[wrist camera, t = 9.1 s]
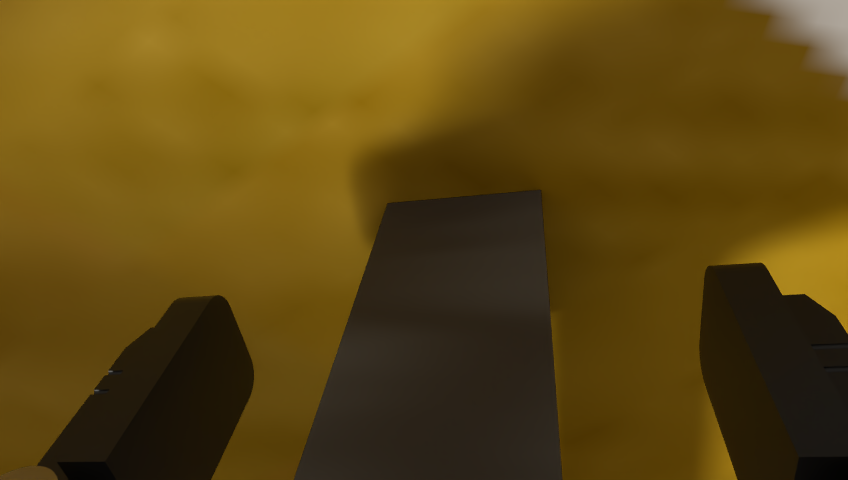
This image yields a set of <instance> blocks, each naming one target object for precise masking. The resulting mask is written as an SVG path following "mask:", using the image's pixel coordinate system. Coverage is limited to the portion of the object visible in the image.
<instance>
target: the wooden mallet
mask: <svg viewBox="0 0 848 480" xmlns="http://www.w3.org/2000/svg"><path fill="white" fill-rule="evenodd" d="M294 480H562V466H561V452H560V439H559V425H558V411H557V398H556V384H555V371H554V357H553V343H552V330H551V316H550V303H549V290H548V277H547V264H546V251H545V238H544V225H543V212H542V199H541V190H534V191H523V192H512V193H500V194H489V195H477V196H466V197H454V198H443V199H432V200H420V201H409V202H397V203H388V204H387V207H386V210H385V213H384V216H383V218H382V221H381V224H380V227H379V230H378V233H377V236H376V239H375V242H374V245H373V248H372V251H371V254H370V257H369V260H368V263H367V266H366V269H365V272H364V274H363V277H362V280H361V283H360V286H359V289H358V292H357V295H356V298H355V301H354V304H353V307H352V310H351V313H350V316H349V319H348V322H347V325H346V328H345V331H344V333H343V336H342V339H341V342H340V345H339V348H338V351H337V354H336V357H335V360H334V363H333V366H332V369H331V372H330V375H329V378H328V381H327V384H326V387H325V389H324V392H323V395H322V398H321V401H320V404H319V407H318V410H317V413H316V416H315V419H314V422H313V425H312V428H311V431H310V434H309V437H308V440H307V443H306V445H305V448H304V451H303V454H302V457H301V460H300V463H299V466H298V469H297V472H296V475H295V478H294Z"/></svg>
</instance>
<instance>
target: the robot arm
mask: <svg viewBox="0 0 848 480" xmlns="http://www.w3.org/2000/svg"><path fill="white" fill-rule="evenodd" d="M699 350H700V363H701V369H702V375H703V379H704V383H705V386H706V389H707V392H708V395H709V397H710V400H711V403H712V406H713V409H714V412H715V415H716V418H717V421H718V424H719V427H720V430H721V433H722V435H723V438H724V441H725V444H726V447H727V450H728V453H729V456H730V459H731V462H732V465H733V468H734V470H735V473H736V476H737V479H738V480H848V334H847V333H846V331H845V330H844V328H843V326H842V325H841V323H840V322H839V320H838V319H837V317H836V316H835V315H833V314H832V313H831V312H829V311H828V310H826V309H825V308H824V307H822V306H821V305H819V304H818V303H817V302H815V301H814V300H812V299H811V298H810V297H808V296H807V295H805V294H799V295H782V294H781V292H780V290H779V289H778V287H777V285H776V283H775V282H774V280H773V278H772V277H771V275H770V273H769V271H768V270H767V268H766V267H765V265H764V264H762V263H749V264H733V265H717V266H708V267H707V269H706V272H705V278H704V290H703V303H702V316H701V329H700V343H699ZM253 382H254V370H253V364H252V360H251V357H250V355H249V352H248V350H247V347H246V345H245V342H244V340H243V337H242V335H241V332H240V330H239V327H238V325H237V322H236V320H235V317H234V315H233V312H232V310H231V307H230V305H229V303H228V302H227V300H226V299H225V298H224V297H222V296H220V295H217V296H202V297H186V298H178V299H176V300H175V301H174V302H173V303H172V304H171V306H170V307H169V308H168V310H167V311H166V313H165V314H164V315H163V317H162V318H161V319H160V321H159V322H158V323H157V325H156V326H155V328H150V329H149V330H148V331H146V332H145V333H144V334H143V335H141V336H140V337H139V338H138V339H136V340H135V341H134V342H133V343H131V344H130V345H129V346H128V347H126V348H125V349H124V351H123V352H122V353H121V355H120V356H119V357H118V359H117V360H116V361H115V363H114V364H113V365H112V367H111V368H110V369H109V374H108V375H105V376H104V377H103V379H102V380H101V381H100V383H99V384H98V385H97V387H96V388H95V389H94V395H90V396H89V397H88V398H87V400H86V401H85V402H84V404H83V405H82V406H81V408H80V409H79V410H78V412H77V413H76V414H75V416H74V417H73V418H72V420H71V421H70V422H69V424H68V425H67V426H66V428H65V429H64V430H63V432H62V433H61V434H60V436H59V437H58V438H57V439H56V441H55V442H54V443H53V445H52V446H51V447H50V449H49V450H48V451H47V453H46V454H45V455H44V457H43V458H42V459H41V461H40V462H39V463H38V465H37V466H28V467H23V468H19V469H16V470H13V471H10V472H8V473H6V474H3V475H1V476H0V480H211V478H212V476H213V474H214V472H215V470H216V468H217V466H218V463H219V461H220V459H221V457H222V455H223V453H224V451H225V449H226V446H227V444H228V442H229V440H230V438H231V436H232V434H233V432H234V429H235V427H236V425H237V423H238V421H239V419H240V417H241V415H242V412H243V410H244V408H245V406H246V404H247V402H248V400H249V398H250V395H251V392H252V388H253Z"/></svg>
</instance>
